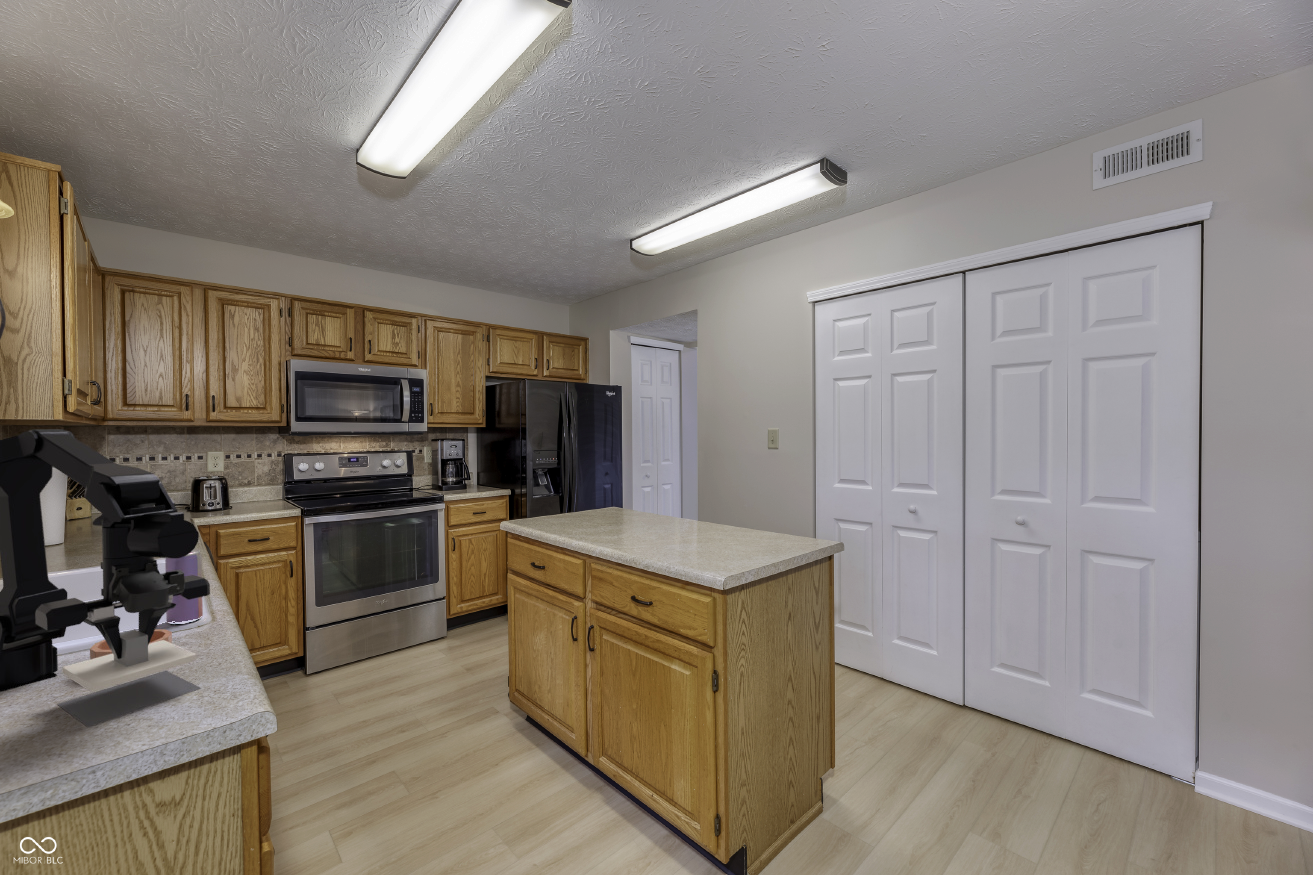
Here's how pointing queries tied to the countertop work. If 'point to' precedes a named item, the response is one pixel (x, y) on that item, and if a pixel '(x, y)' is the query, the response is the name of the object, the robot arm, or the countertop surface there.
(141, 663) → the cover sheet
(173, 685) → the mat
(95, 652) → the bowl
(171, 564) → the beverage can
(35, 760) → the countertop surface
